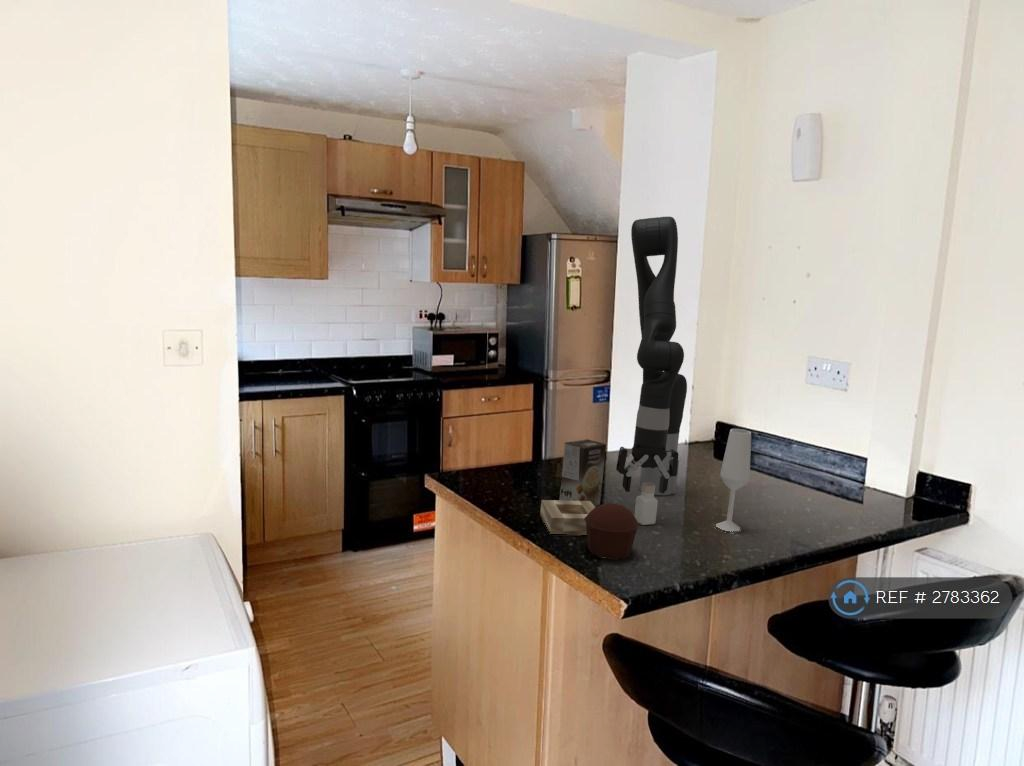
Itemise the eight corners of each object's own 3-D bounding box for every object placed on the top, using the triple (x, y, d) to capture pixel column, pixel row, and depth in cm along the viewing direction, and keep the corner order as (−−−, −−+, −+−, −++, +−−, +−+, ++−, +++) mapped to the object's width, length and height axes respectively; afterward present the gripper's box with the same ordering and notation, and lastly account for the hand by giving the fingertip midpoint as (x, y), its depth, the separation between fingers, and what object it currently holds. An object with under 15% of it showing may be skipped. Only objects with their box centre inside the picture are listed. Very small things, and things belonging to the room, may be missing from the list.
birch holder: (588, 516, 168) (590, 501, 167) (602, 535, 156) (604, 518, 156) (540, 516, 166) (541, 499, 166) (550, 535, 154) (551, 517, 154)
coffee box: (577, 511, 171) (583, 448, 169) (558, 504, 176) (563, 442, 173) (600, 504, 178) (606, 443, 175) (581, 498, 182) (587, 438, 180)
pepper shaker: (642, 526, 165) (646, 487, 163) (632, 520, 168) (636, 482, 167) (656, 524, 166) (660, 486, 165) (646, 518, 170) (650, 481, 168)
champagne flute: (728, 522, 172) (740, 427, 168) (748, 531, 166) (761, 433, 162) (707, 524, 169) (719, 428, 165) (727, 534, 163) (740, 435, 159)
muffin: (605, 537, 156) (610, 494, 154) (646, 554, 148) (651, 509, 146) (570, 548, 148) (574, 503, 146) (611, 567, 140) (616, 519, 138)
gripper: (675, 423, 168) (667, 488, 171) (618, 420, 166) (611, 485, 169) (686, 430, 161) (678, 498, 163) (627, 426, 159) (619, 495, 161)
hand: (644, 491), depth 166 cm, fingers open, 8 cm apart
